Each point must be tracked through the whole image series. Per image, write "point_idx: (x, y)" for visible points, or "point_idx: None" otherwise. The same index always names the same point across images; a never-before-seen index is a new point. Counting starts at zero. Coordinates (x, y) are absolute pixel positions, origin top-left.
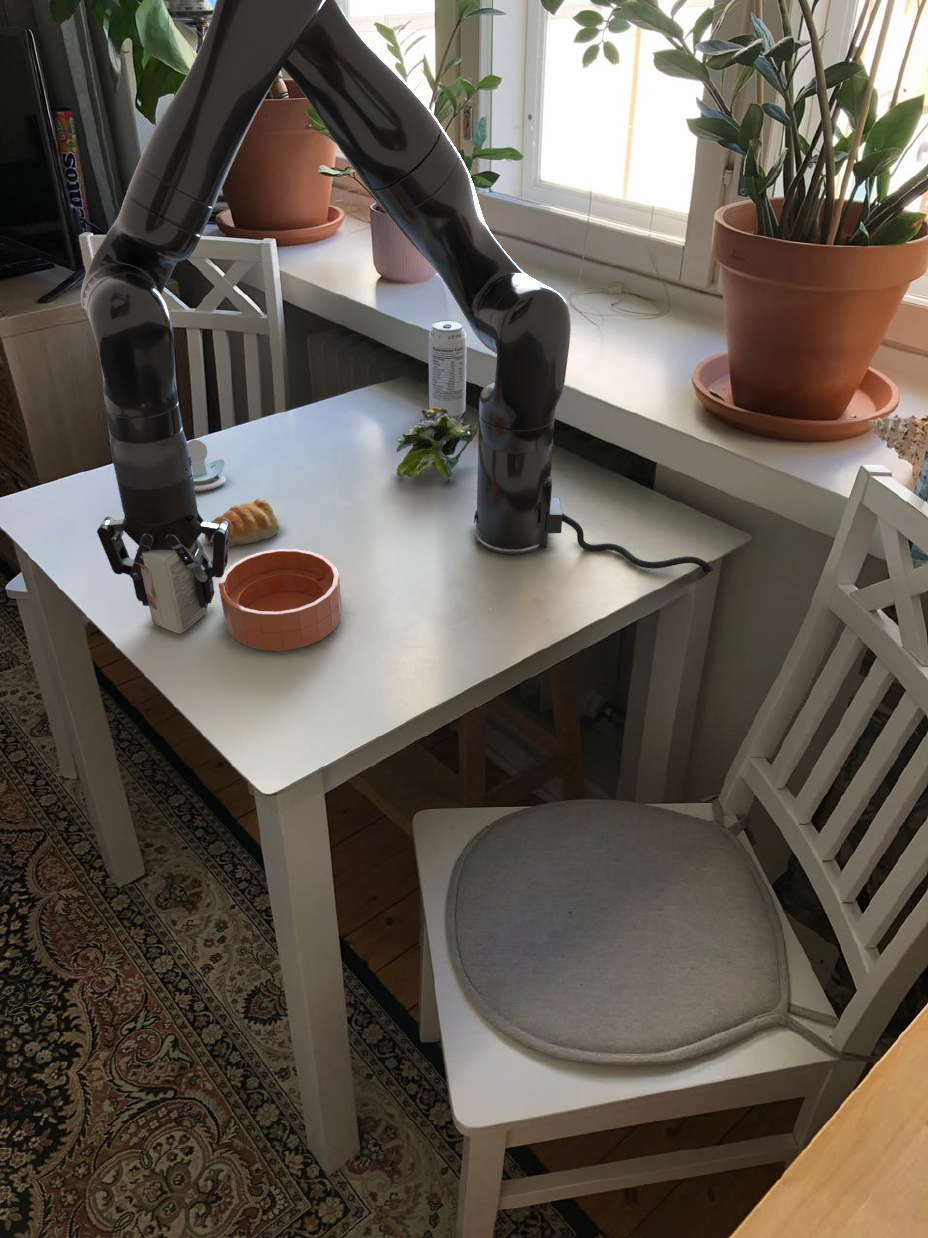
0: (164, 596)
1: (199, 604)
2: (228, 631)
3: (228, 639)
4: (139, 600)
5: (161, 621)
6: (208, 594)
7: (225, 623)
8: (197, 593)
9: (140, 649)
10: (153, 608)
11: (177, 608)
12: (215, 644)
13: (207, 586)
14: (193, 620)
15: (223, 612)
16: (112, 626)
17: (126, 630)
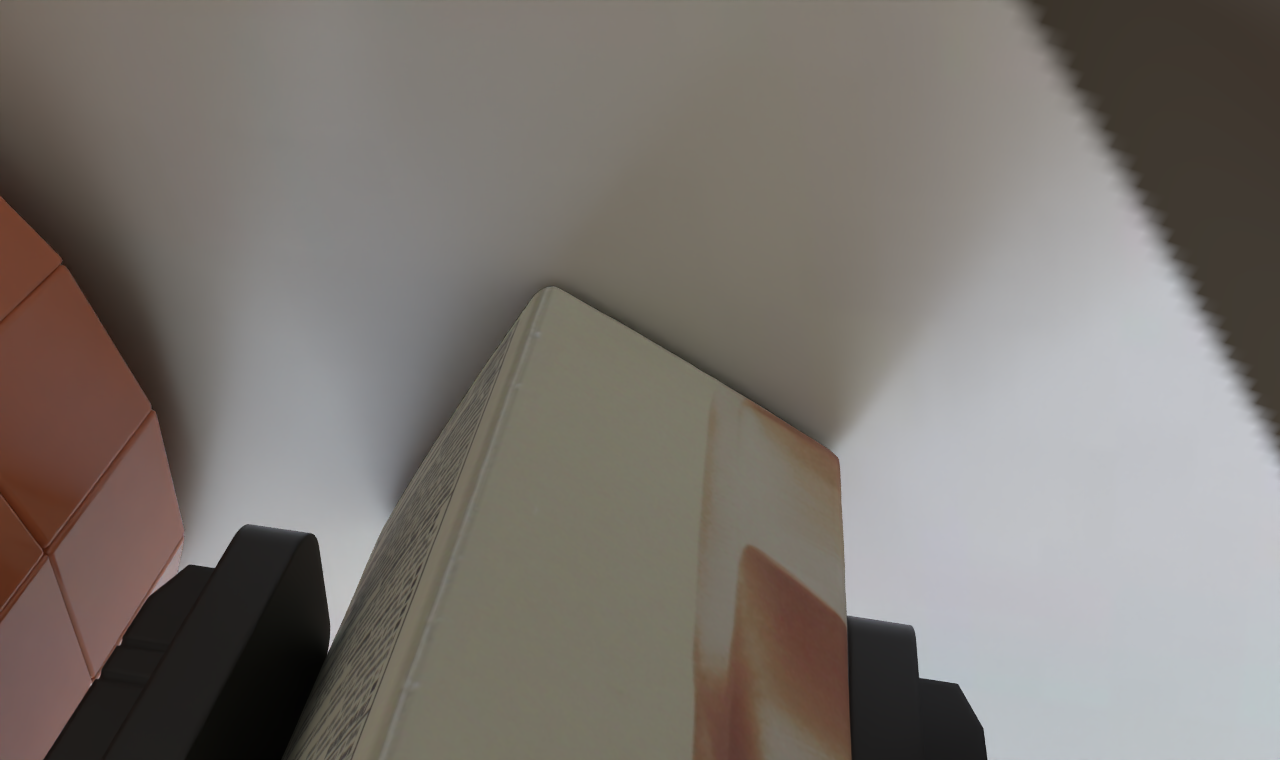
0: (559, 668)
1: (289, 559)
2: (18, 229)
3: (56, 164)
4: (950, 688)
5: (730, 436)
6: (138, 654)
7: (25, 311)
8: (228, 677)
9: (941, 87)
10: (793, 573)
11: (454, 503)
12: (150, 96)
13: (78, 750)
14: (443, 434)
15: (12, 427)
16: (1233, 470)
17: (1097, 402)
